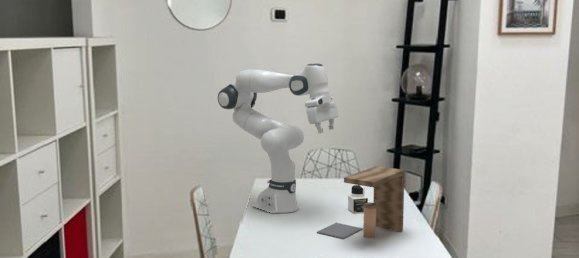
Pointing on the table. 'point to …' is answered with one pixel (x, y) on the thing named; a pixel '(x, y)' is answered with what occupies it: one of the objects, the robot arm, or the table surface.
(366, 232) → the terracotta jar
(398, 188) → the walnut stand
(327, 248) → the table surface
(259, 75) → the robot arm
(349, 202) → the medicine bottle
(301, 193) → the table surface
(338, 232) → the grey mat
